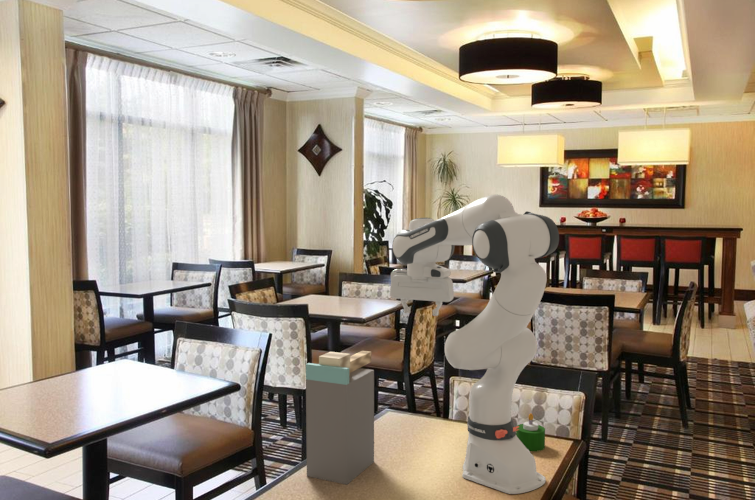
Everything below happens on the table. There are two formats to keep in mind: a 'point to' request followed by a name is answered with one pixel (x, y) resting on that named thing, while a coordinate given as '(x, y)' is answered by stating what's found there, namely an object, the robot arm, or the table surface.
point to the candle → (531, 435)
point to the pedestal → (339, 422)
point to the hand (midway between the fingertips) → (421, 314)
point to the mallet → (346, 360)
